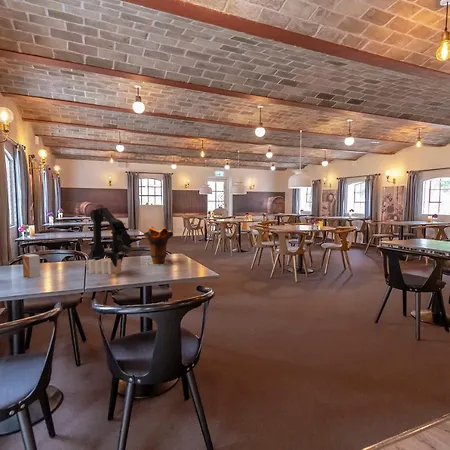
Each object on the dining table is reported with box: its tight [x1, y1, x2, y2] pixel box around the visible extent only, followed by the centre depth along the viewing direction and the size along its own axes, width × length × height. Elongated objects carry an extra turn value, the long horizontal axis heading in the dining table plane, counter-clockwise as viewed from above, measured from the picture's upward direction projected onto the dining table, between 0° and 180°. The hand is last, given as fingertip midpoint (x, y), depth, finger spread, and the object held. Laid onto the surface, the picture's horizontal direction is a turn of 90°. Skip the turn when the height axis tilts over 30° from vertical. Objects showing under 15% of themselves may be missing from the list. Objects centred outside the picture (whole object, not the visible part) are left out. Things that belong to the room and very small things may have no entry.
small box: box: [21, 253, 41, 279], centre depth 193 cm, size 8×6×13 cm
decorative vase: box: [142, 226, 174, 267], centre depth 232 cm, size 21×23×28 cm
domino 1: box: [88, 259, 95, 274], centre depth 203 cm, size 5×2×8 cm, turn 169°
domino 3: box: [101, 259, 109, 275], centre depth 201 cm, size 5×2×8 cm, turn 169°
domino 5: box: [114, 259, 122, 274], centre depth 200 cm, size 5×2×8 cm, turn 169°
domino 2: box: [94, 259, 103, 275], centre depth 202 cm, size 5×2×8 cm, turn 169°
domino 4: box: [107, 260, 116, 275], centre depth 201 cm, size 5×2×8 cm, turn 169°
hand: (117, 265), depth 200 cm, fingers closed on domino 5, 5 cm apart
